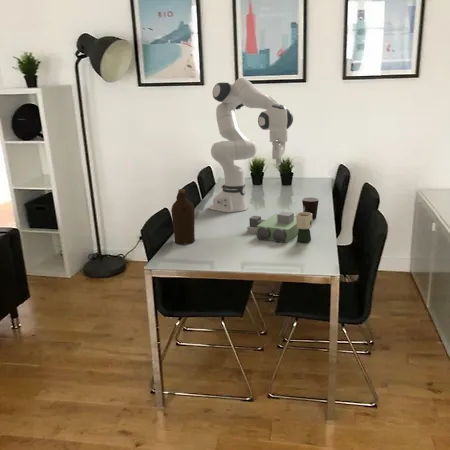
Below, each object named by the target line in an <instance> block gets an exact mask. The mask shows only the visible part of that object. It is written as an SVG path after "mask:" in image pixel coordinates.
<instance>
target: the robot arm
mask: <svg viewBox="0 0 450 450" xmlns="http://www.w3.org/2000/svg"><path fill="white" fill-rule="evenodd" d="M212 98H213V99H214V100H215V101H217V102H219V104H218V105H217V106H216V109H215V110H216V111H215V115H216V116H215V117H216V122H217V127H218V131H219V134H220V136H221V138H223V139H225V140H221V141H218V142H214V143H213V144H212V145H211V149H210V154H211V157H212V159H213V160H214V161H216V162H218V163H219V165H220V166H221V168H222V170H223V174H224V175H223V176H224V184H222V185H221V187H220V188H221V189H222V191H220V192H219V193H218V194H216V196H214V198H213V200H212V204H210V205H209V207H208V209H209V210H212V211H218V212H224V213H235V212H236V213H237V212H243V211H246V210H248V209H249V206H248V204H247V198H246V184H245V171H244V169H243V168H242V167H240V166H238V165H236V164H235V163H234V162H235V161H241V160H242V161H243V160H248V159H251V158H254V157H255V156H256V153H257V145H256V143H255V141H253V140H252V139H250V138H248V137H247V136H246V135H244V134H243V132H242V131H241V129H240V127H239V123H238V120H237V115H236V111H235V110H240V109H241V108H243V107H247V108H250V109H261V110H264V111H261V112H260V113H259V115H258V119H257V123H258V127H259V128H260V129H261V130H264V131H269V142H270V143H271V145H272V152H271V153H272V160H275V162H276V166H277V167H279V166H281V163H282V156H283V155H284V154H285V152H286V151H285V150H286V143H287V142H288V130H289V128H290V127H291V126H292V124H293V122H294V115H293V113H292V112H291V111H290V110H289V109H288V108H287V107H286V106H285V105H283V104H279V103H278V102H277V101H276V100H275V99H273V98H272V97H271V96H269V95H267V94H266V93H264V92H262V91H261V90H259V89H258V88H257V87H256V86H255V85H254V84H253V83H252V82H251V81H249V80H248V79H246V78H244V77H240V78H237V79H236V80H235V81H234V83H233V84H232V83H229V82H217V83H216V84H215V85H214V86H213V88H212Z"/></svg>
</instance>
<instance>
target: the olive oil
mask: <svg viewBox="0 0 450 450" xmlns="http://www.w3.org/2000/svg"><path fill="white" fill-rule="evenodd" d="M177 192H178V193H177V196H178V198H177V199H176V200H175V201H174V202H173V204H172V206H171V210H170V211H171V218H172V228H173V229H172V231H173V236H174V243H175V244H177V245H183V246H184V245H185V246H186V245H189V244H193V243H195V242H196V241H195V239H196V238H195V232H196V231H195V207H194V205H193V203H192V201H190V200H189V199H188V198H187V197H186V196H187V195H186V194H187V193H186V189H184V188H178V191H177Z"/></svg>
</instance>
